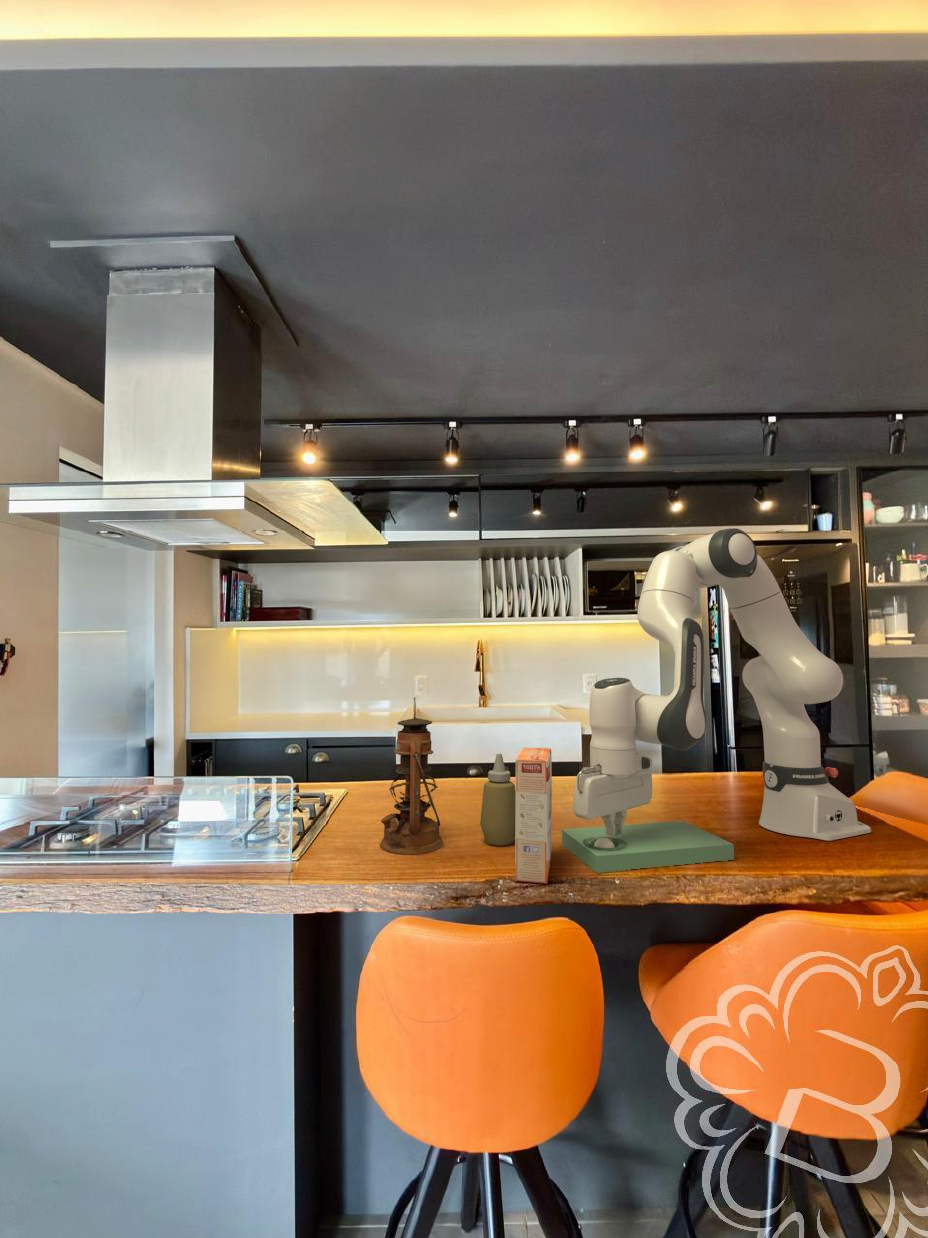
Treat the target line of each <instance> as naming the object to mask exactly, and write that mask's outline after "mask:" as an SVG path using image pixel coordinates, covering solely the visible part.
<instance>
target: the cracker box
mask: <svg viewBox="0 0 928 1238" xmlns="http://www.w3.org/2000/svg"><path fill="white" fill-rule="evenodd" d="M552 765H553V764H552V749H551V748H547V747H523V748H522V750H521V751H519V754H518V755H517V757H516V758H515V792H516V815H515V839H514V844H515V847H514V849H515V851H514V856H515V857H514V858H515V859H514V865H515V866H514V870H515V871H514V876H515V881H516V882H522V883H523V882H524V883H535V884H536V883H537V884H546V885H547V884H548V881H549V880H548V879H549V873H550V866H551V860H552V832H553V831H552V827H553V826H552V824H553V823H552V821H553V820H552V817H553V816H552V814H553V813H552V811H553V809H552V808H553V807H552V802H553V799H552V798H553V797H552V795H553V794H552V793H553V791H552V790H553V788H552V787H553V785H552V783H553V780H552V778H553V777H552V774H553V773H552V771H553V770H552Z"/></svg>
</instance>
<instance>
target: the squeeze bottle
mask: <svg viewBox="0 0 928 1238" xmlns="http://www.w3.org/2000/svg"><path fill="white" fill-rule="evenodd" d="M487 778H488V779H487V780H488V781H486V782H484V784H483V790H482V791H483V792H482V801H481V809H480V810H481V812H480V820H479V821H480V828H481V832H482V834H483V837H484V838H483V839H484V841H485V842H486V843H487V844H489V845H493V846H509V845H511V844H513V843H515V815H516V783H514V782H512V781H511V771H509V770H506V767H505V763H504V758H503V754H502V753H497V754H495V759H494V765H493V769H491V770H489V771H488V772H487Z"/></svg>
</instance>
